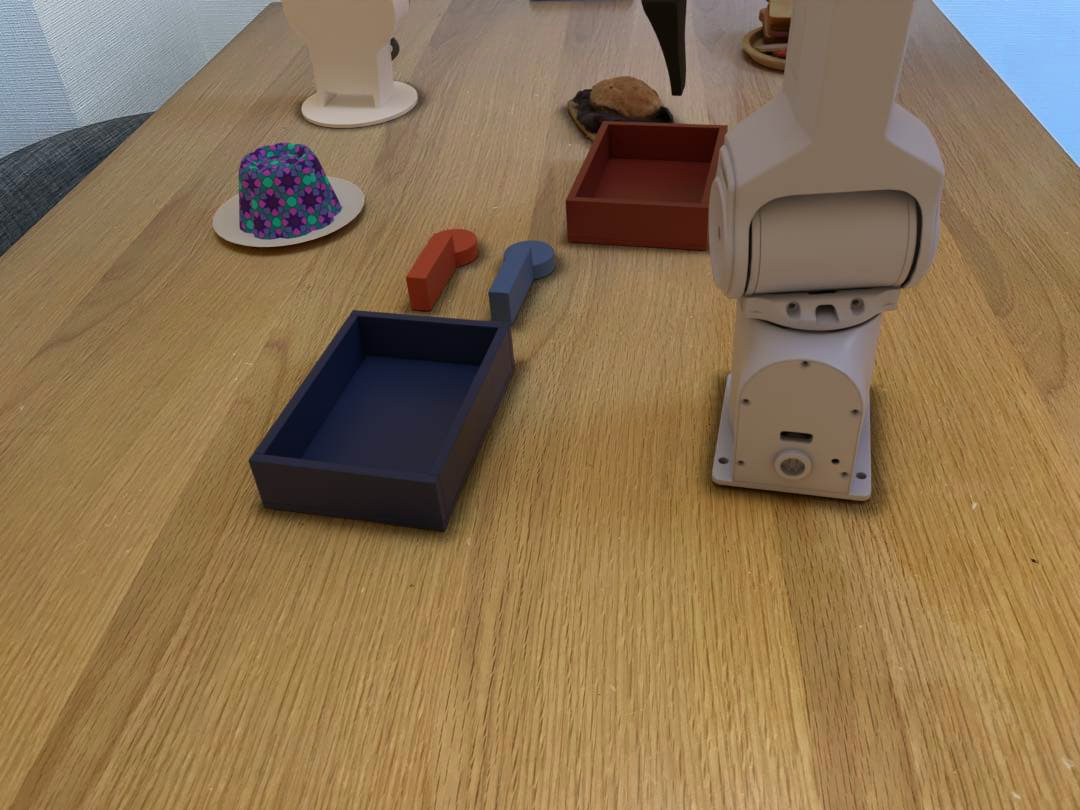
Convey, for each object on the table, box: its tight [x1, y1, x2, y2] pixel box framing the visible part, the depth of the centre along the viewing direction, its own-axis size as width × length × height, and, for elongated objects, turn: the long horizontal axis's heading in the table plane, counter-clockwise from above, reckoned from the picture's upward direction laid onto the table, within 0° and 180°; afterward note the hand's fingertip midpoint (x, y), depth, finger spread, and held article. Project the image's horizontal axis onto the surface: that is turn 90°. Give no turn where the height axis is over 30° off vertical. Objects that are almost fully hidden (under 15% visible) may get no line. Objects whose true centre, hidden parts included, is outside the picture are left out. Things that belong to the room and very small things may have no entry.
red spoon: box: [405, 228, 479, 312], centre depth 70 cm, size 9×4×3 cm, turn 166°
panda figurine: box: [280, 0, 419, 129], centre depth 92 cm, size 12×11×15 cm
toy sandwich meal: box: [741, 0, 793, 72], centre depth 99 cm, size 12×14×5 cm
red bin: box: [565, 121, 729, 251], centre depth 76 cm, size 14×10×3 cm
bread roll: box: [566, 75, 675, 142], centre depth 88 cm, size 11×8×4 cm
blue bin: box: [247, 309, 516, 532], centre depth 56 cm, size 14×10×3 cm
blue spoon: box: [487, 239, 556, 327], centre depth 68 cm, size 9×4×3 cm, turn 166°
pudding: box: [212, 142, 366, 248], centre depth 77 cm, size 12×12×5 cm
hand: (734, 92), depth 68 cm, fingers open, 7 cm apart
